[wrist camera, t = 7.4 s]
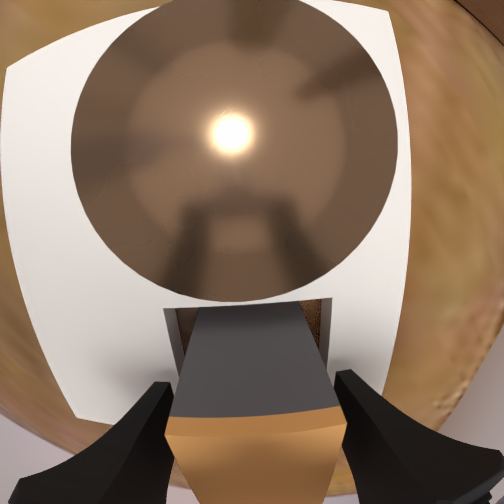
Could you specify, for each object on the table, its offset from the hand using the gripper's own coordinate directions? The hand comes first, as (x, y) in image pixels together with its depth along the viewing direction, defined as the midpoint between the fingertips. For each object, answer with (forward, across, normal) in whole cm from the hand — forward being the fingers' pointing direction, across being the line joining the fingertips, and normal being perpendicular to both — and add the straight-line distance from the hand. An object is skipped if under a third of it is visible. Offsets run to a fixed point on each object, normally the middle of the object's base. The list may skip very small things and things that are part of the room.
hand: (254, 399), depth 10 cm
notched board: (+3, +2, -6) cm, 6 cm away
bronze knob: (+1, 0, -8) cm, 9 cm away
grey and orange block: (+3, 0, 0) cm, 3 cm away
